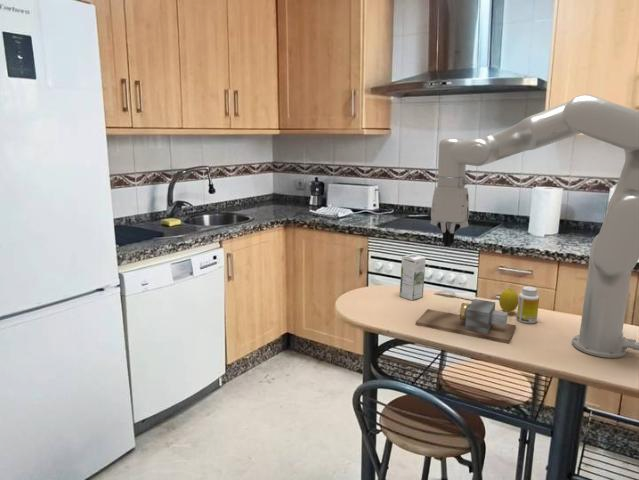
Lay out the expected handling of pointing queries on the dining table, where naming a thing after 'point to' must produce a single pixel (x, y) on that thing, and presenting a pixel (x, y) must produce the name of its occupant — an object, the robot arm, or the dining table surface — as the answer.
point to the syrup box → (412, 276)
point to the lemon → (508, 300)
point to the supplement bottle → (528, 305)
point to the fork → (452, 294)
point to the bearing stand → (469, 322)
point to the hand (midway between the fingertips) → (448, 245)
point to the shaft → (495, 317)
